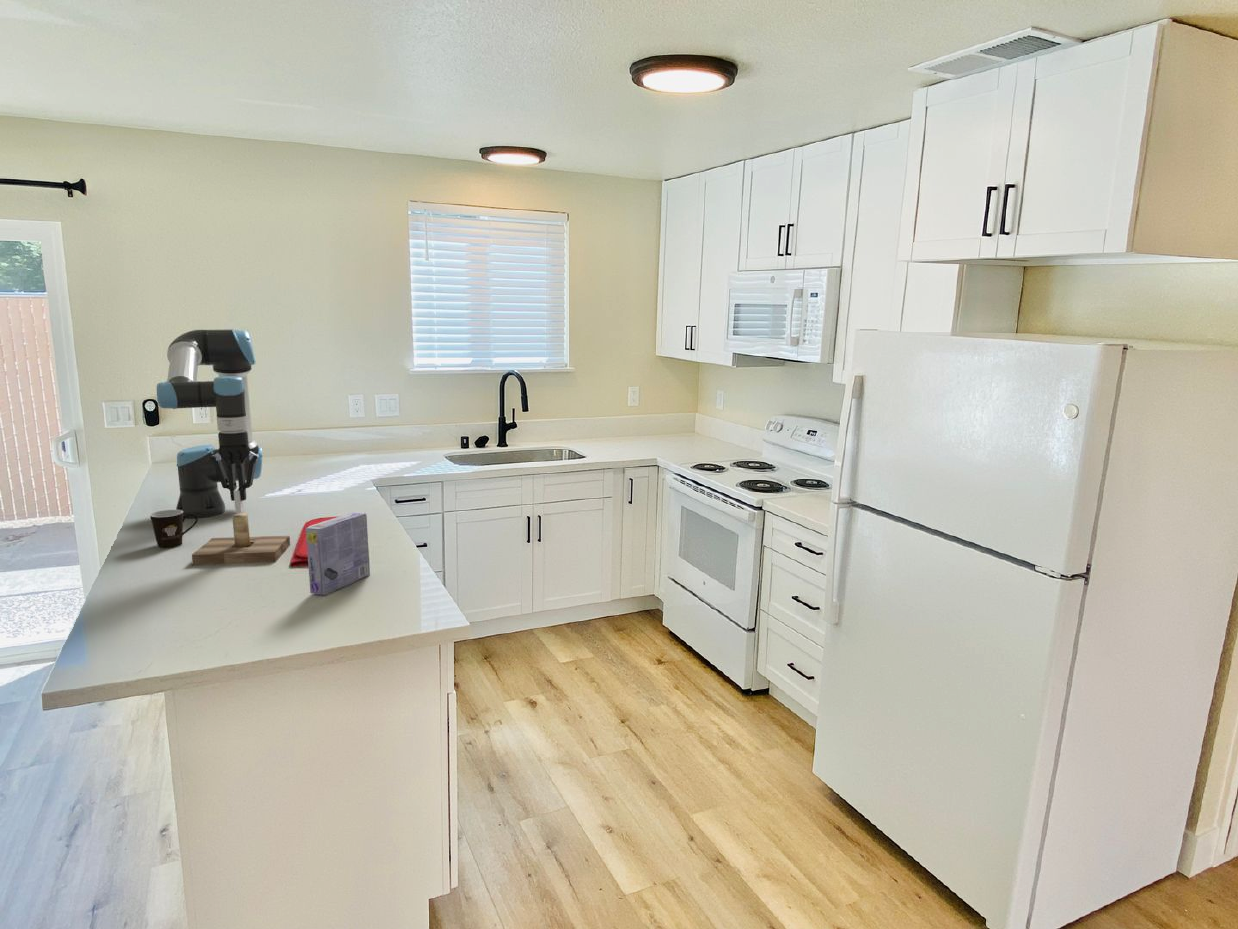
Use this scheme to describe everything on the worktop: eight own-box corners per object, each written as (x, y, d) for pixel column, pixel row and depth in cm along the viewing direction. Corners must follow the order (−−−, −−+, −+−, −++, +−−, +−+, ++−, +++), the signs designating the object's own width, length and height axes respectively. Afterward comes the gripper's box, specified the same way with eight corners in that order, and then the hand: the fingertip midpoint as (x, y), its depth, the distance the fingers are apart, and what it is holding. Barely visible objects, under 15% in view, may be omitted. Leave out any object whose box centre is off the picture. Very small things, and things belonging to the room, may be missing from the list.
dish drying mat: (289, 569, 210) (288, 556, 209) (303, 528, 249) (303, 518, 248) (348, 564, 215) (347, 552, 214) (354, 525, 253) (353, 514, 252)
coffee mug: (149, 550, 222) (145, 518, 220) (158, 541, 230) (155, 510, 228) (193, 547, 225) (189, 515, 223) (200, 539, 234) (197, 508, 232)
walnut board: (213, 547, 226) (212, 538, 225) (290, 545, 230) (289, 535, 229) (192, 565, 211) (191, 554, 210) (275, 562, 214) (274, 552, 214)
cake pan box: (359, 571, 208) (356, 509, 205) (374, 573, 206) (371, 511, 203) (308, 594, 191) (303, 527, 187) (323, 597, 189) (319, 530, 185)
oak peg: (238, 552, 222) (234, 513, 219) (253, 552, 222) (249, 513, 220) (233, 557, 218) (229, 517, 215) (248, 556, 218) (245, 517, 216)
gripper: (203, 433, 208) (211, 515, 213) (253, 432, 210) (259, 514, 215) (212, 429, 215) (220, 508, 220) (261, 428, 217) (267, 507, 222)
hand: (239, 511), depth 217 cm, fingers closed
